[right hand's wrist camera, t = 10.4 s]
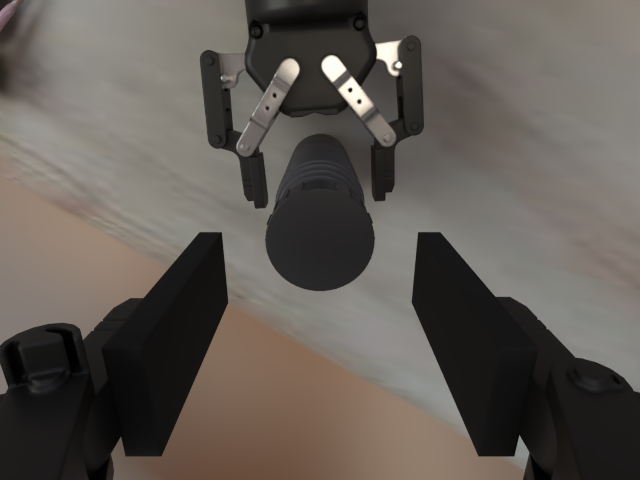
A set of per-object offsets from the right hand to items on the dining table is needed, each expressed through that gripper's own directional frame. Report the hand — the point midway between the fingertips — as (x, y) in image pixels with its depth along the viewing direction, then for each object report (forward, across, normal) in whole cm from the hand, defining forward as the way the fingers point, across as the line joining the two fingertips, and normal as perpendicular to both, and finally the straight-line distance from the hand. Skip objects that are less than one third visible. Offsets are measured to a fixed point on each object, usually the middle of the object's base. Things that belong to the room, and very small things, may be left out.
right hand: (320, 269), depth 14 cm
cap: (+3, 0, 0) cm, 3 cm away
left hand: (+16, 0, +2) cm, 16 cm away
